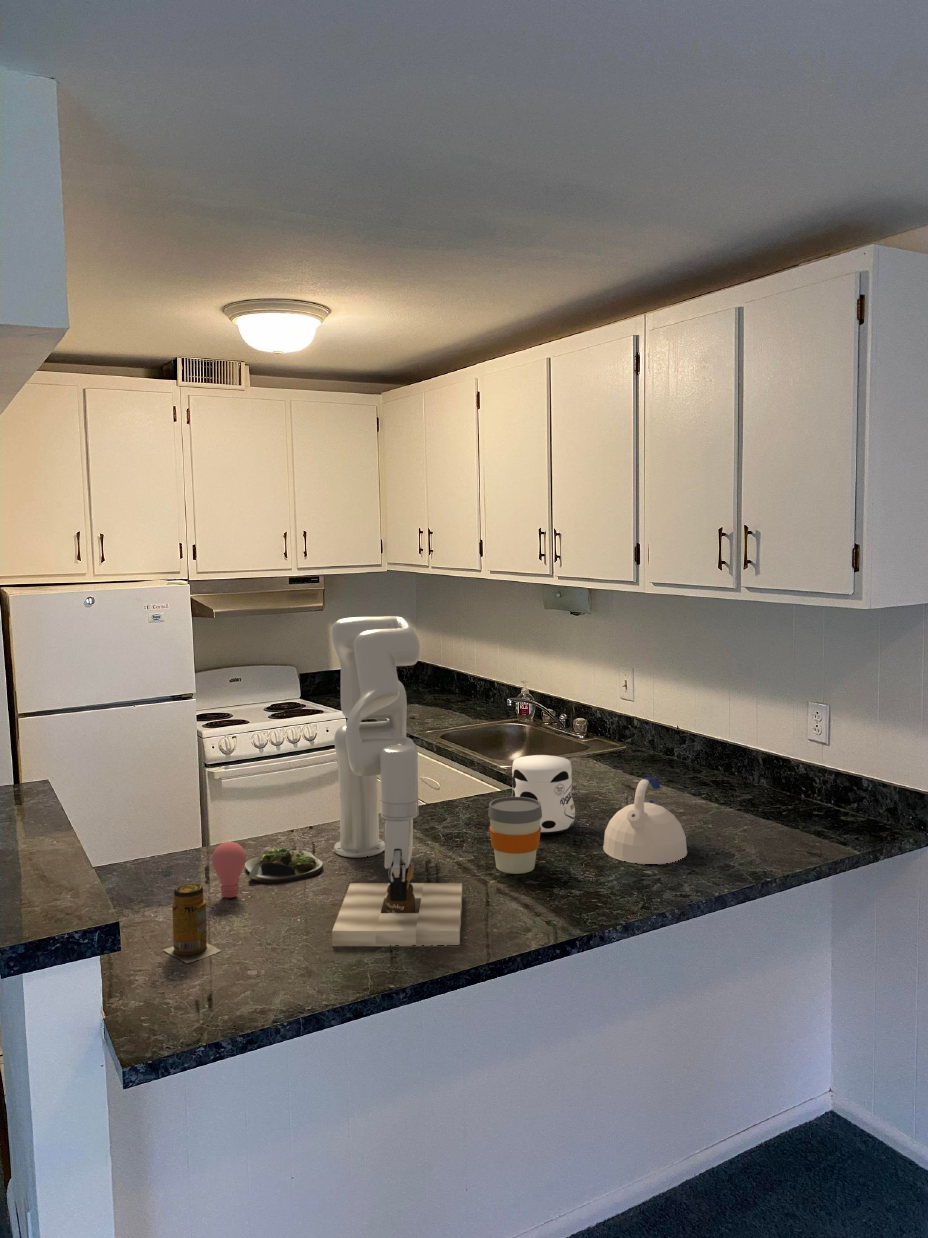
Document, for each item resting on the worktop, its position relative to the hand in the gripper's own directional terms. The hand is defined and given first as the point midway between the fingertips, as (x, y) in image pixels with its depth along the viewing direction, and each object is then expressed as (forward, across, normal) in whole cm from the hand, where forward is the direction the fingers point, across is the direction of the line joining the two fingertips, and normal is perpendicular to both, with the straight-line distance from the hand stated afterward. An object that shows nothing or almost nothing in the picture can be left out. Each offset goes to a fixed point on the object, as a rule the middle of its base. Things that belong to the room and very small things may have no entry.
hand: (400, 891), depth 185 cm
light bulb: (+6, -12, -38) cm, 40 cm away
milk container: (+6, -58, +32) cm, 67 cm away
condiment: (+6, +14, -38) cm, 41 cm away
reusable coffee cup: (+6, -30, +24) cm, 39 cm away
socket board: (+6, 0, 0) cm, 6 cm away
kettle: (+6, -41, +56) cm, 70 cm away
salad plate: (+7, -28, -30) cm, 42 cm away
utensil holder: (+6, 0, 0) cm, 6 cm away
